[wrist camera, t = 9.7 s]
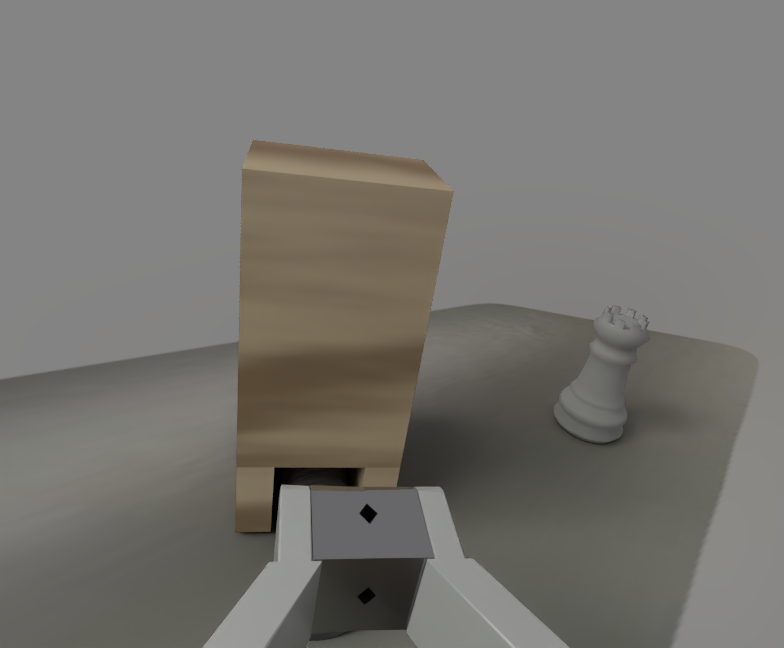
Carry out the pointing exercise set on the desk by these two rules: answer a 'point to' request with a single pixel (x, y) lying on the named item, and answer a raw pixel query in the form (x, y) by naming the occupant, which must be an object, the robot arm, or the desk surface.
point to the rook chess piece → (603, 379)
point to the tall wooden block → (331, 313)
